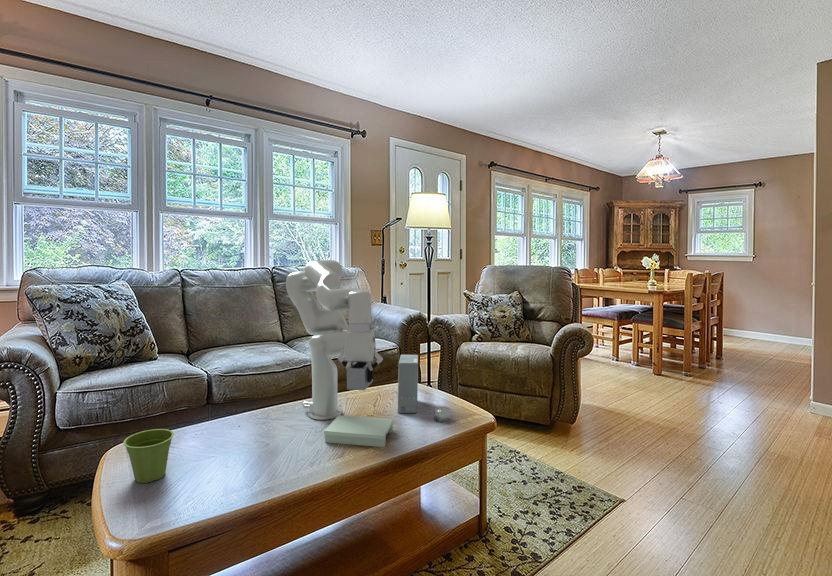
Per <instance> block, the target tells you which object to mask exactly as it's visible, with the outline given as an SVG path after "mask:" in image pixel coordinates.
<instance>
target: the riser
mask: <svg viewBox="0 0 832 576" xmlns="http://www.w3.org/2000/svg"><path fill="white" fill-rule="evenodd" d="M393 429H394V418H383V417H382V418H381V417H368V416H367V417H366V416H356V415H355V416H354V415H342V414H341V415H338V416H337V417H336V418H334V420H333V421H331V423H330V424H329V425H328V426H327V427H326V428H325V429H324V431H323V435H324V443H329V444H332V443H333V444H344V445H354V446H355V445H356V446H365V447H366V446H367V447H378V448H385V446H386V443H387V441H386V437H387V434H392V433H393V431H394V430H393Z"/></svg>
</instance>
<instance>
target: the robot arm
mask: <svg viewBox="0 0 832 576" xmlns="http://www.w3.org/2000/svg"><path fill="white" fill-rule="evenodd" d="M343 272H344V271H343V267H342V264H341V263H339V262H338V261H336V260H332V259H329V260H328V259H327V260H325V259H321V260H320V259H319V260H316V259H315V260H311V261H309V262H308V263H306V265H305V267H304V270H300V271H299V270H298V271H297V270H296V271H294V272H291V273H289V274H288V275H287V276H286V278H285V279H286V280H285V288H286V292H287V294H288V298H289V299H290V301H291V302H292V304H293V305H294V306H295V308H296V309H297V311H298V314H299V316H300V319H301V321H302V324H303V326H304V329H305V331H306V333H308V334H309V335H311V337H310V339H309V341H308V348H309V355H310V360H311V385H312V386H311V389H312V390H311V392H312V394H311V401H303V403H302V407H303V409H308V410H309V411H307V412H308V418H311V419H314V420H319V421H320V420H322V421H325V420H331V419H336V418H337V416H338V415H342V412H343V410H342V408H341V407H339V406H338V367H337V365H336V363H335V362H334V361H333V360H332V358H334V357H337V360H338V361H339V362H340V363H341V365H343V366H344V367H345V369H346V370H347V368H348V367H349V366H350V365H351V364H353V363H354V362H366V363H367V365H368V368H369V370H368V382H371V381H372V379H373V380H374V369H375V368H377V366H378V365H379V364H380V363H382V361H383V360H384V358H383V357H382V355H380V354H379V352H378V351H377V344H376V342H377V341H376V338H375V337H376V336H375V331H374V329H376V324H373V321H372V294H371V292H370V291H368V290H361V289H359V288H339V287H340V285H341V279H342V277H343ZM308 292H315V296H316V298H315V297H314V296H313V295H311V294H310V293H308ZM321 306H322V308H324V309H322V308H321ZM345 311H348V313H347V314H348V321H347V320H346V318H345V316H344V314H343V313H342V312H345ZM375 359H376V361H375V362H374V360H375Z"/></svg>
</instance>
